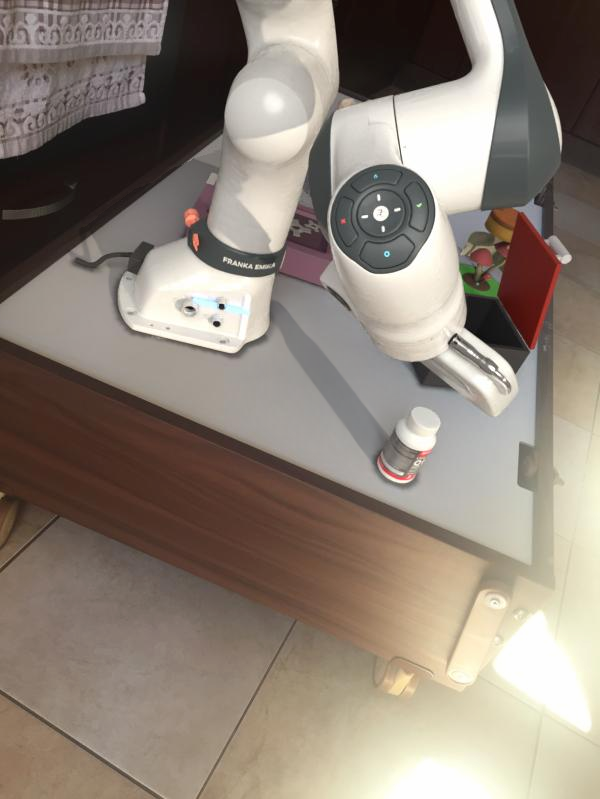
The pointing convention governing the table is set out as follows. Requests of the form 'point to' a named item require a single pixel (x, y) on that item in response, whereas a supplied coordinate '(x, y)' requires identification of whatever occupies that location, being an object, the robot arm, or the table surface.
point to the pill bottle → (409, 445)
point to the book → (288, 239)
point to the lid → (530, 277)
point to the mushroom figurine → (488, 252)
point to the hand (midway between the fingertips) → (430, 358)
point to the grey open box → (485, 335)
